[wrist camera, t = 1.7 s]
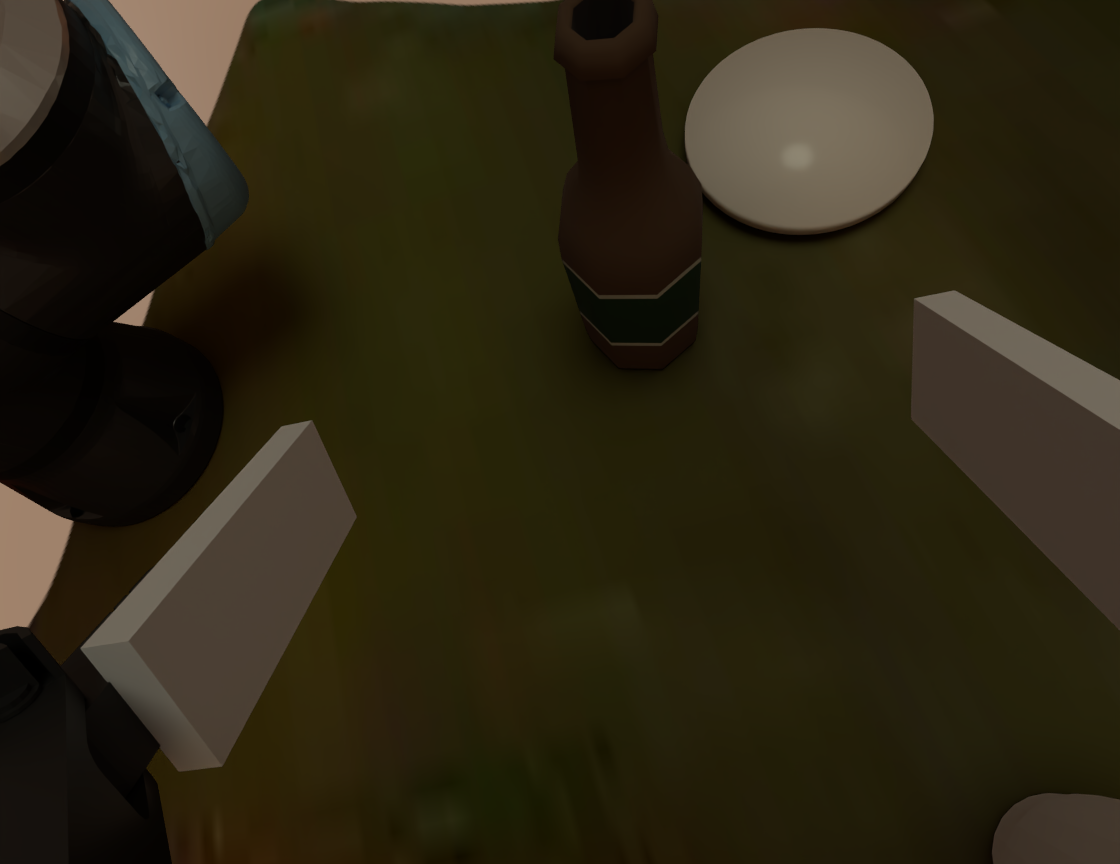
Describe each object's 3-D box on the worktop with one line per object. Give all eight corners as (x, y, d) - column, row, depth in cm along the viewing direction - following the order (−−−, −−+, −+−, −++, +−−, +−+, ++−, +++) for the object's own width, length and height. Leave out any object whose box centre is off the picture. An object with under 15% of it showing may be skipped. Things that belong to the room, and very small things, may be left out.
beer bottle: (568, 350, 44) (448, 74, 22) (618, 257, 45) (553, -97, 23) (671, 393, 42) (658, 136, 19) (720, 294, 43) (762, -56, 21)
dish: (639, 148, 48) (637, 129, 46) (802, 16, 48) (806, -9, 46) (796, 287, 42) (801, 272, 41) (976, 137, 43) (989, 116, 41)
